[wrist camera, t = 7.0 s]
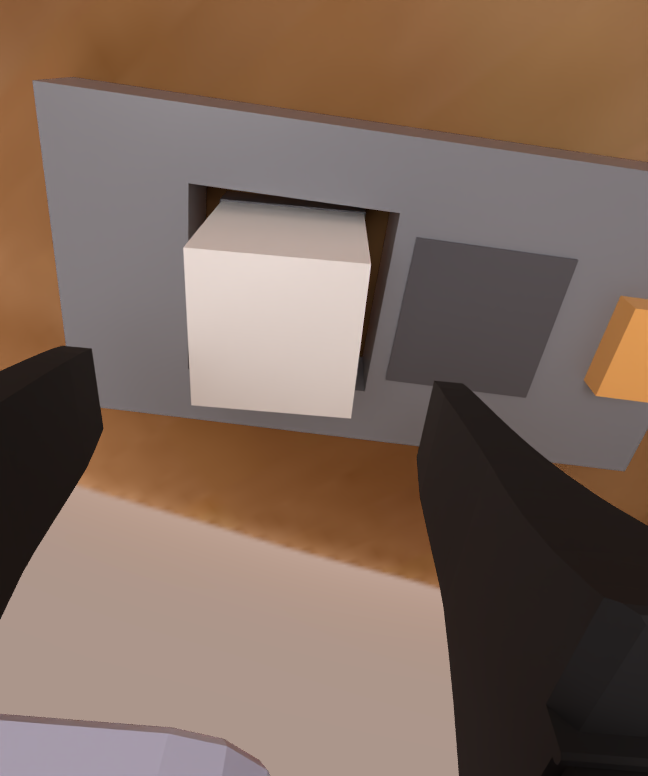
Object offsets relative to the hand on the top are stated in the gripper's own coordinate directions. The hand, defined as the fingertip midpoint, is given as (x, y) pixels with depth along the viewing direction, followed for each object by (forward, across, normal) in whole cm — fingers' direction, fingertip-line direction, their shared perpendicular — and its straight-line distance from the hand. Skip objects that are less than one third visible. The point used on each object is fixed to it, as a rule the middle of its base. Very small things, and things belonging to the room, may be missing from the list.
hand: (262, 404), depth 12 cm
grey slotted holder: (+9, -3, 0) cm, 9 cm away
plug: (+9, 0, 0) cm, 9 cm away
